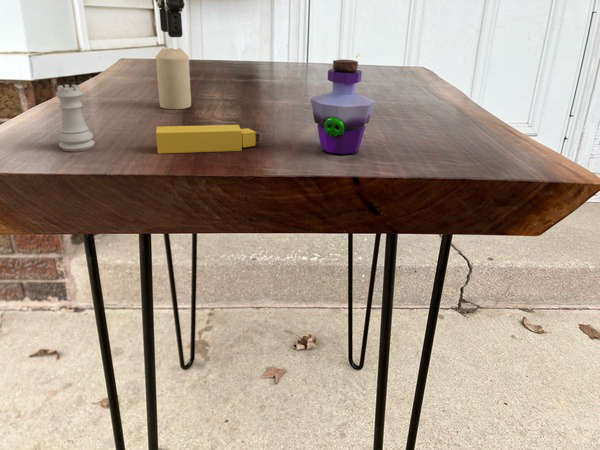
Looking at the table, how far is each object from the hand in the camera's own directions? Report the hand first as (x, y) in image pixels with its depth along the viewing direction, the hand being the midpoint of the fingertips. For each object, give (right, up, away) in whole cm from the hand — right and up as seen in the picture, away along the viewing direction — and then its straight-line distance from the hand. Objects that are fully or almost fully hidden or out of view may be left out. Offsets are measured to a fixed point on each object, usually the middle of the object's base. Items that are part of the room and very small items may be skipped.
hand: (171, 34), depth 89 cm
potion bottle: (+27, -22, -16) cm, 38 cm away
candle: (-1, -11, +5) cm, 12 cm away
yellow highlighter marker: (+9, -22, -17) cm, 29 cm away
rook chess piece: (-8, -22, -19) cm, 30 cm away
